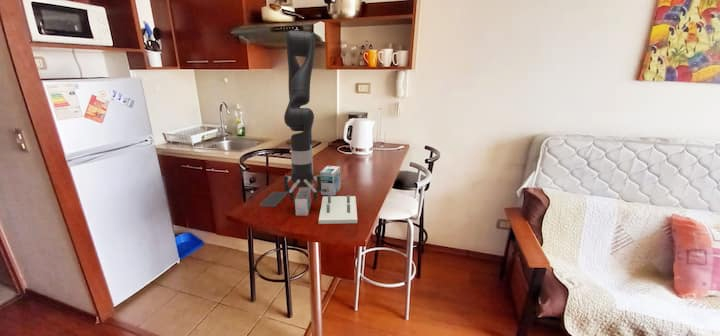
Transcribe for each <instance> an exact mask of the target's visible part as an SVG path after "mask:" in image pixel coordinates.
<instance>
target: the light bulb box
mask: <svg viewBox="0 0 720 336" xmlns="http://www.w3.org/2000/svg"><path fill="white" fill-rule="evenodd" d="M319 173H320V174H319V175H320V176H321V186H322V188H321V191H320V195H322V196H328V195H331V196H336V195H337V194H338V192H339V191H340V190H341V184H342V183H341V166H336V165H335V166H334V165H326V166H325V167H324V168H323V169H322V170H321V171H320V172H319Z"/></svg>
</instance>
